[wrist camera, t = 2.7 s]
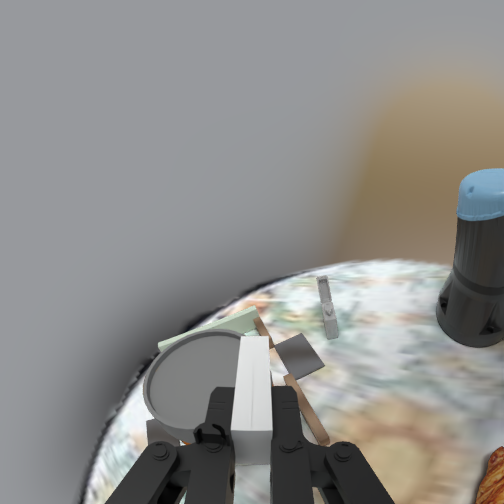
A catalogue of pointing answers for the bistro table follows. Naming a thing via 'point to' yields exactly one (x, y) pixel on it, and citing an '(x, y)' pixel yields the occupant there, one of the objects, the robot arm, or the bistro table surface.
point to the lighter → (327, 307)
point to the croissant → (493, 480)
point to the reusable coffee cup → (191, 379)
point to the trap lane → (298, 365)
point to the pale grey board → (223, 325)
